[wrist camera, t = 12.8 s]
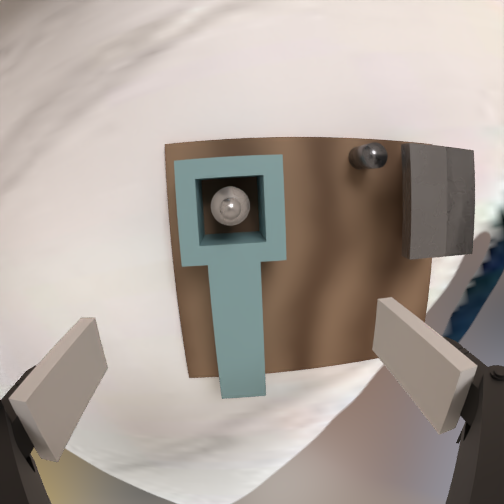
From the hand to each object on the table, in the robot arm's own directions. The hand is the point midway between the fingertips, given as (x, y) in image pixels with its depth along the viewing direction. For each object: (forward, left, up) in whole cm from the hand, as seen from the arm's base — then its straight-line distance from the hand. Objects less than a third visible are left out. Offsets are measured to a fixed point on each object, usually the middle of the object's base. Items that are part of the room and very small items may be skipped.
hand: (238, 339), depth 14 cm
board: (+7, 0, -14) cm, 15 cm away
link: (0, -1, -13) cm, 13 cm away
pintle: (0, +5, -14) cm, 15 cm away
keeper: (+14, +5, -13) cm, 20 cm away
